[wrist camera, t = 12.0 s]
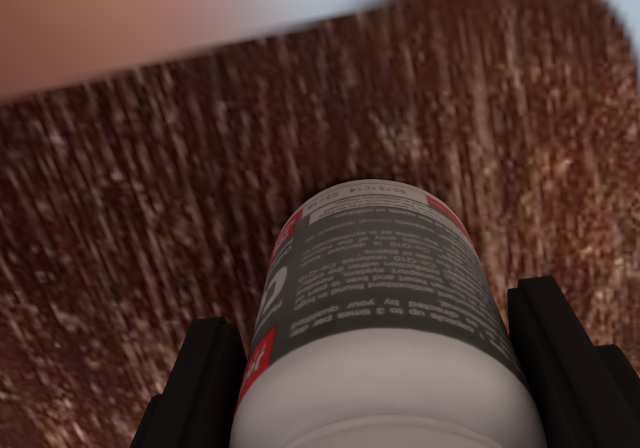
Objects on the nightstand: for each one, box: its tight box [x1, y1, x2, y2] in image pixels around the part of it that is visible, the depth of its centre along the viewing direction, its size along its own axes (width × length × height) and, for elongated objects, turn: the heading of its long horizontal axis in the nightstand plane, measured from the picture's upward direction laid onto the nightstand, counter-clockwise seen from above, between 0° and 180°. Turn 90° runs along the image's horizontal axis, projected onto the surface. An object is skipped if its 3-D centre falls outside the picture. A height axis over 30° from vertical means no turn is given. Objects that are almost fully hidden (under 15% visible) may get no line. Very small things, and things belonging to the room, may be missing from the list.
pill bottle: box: [229, 179, 548, 448], centre depth 11 cm, size 5×5×8 cm
